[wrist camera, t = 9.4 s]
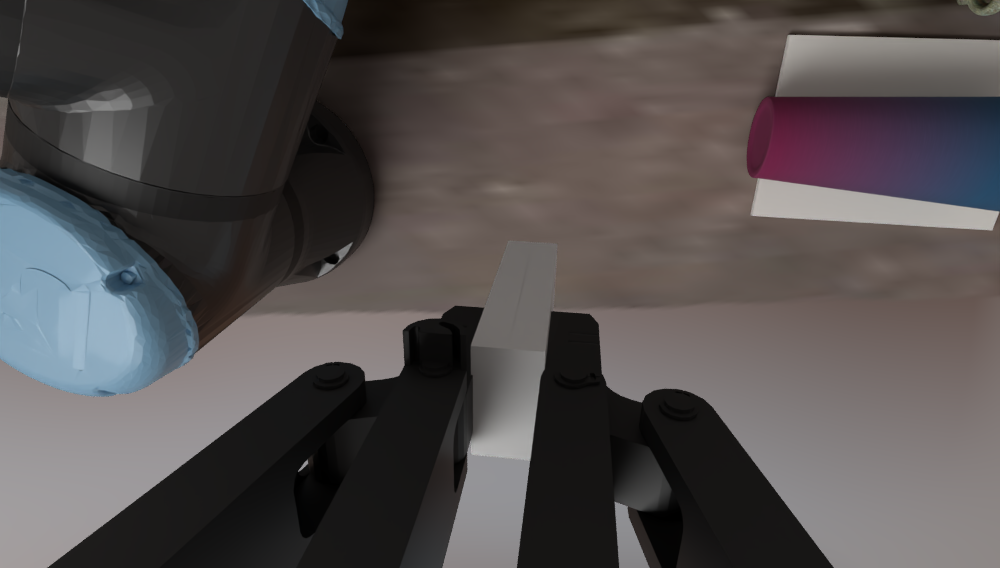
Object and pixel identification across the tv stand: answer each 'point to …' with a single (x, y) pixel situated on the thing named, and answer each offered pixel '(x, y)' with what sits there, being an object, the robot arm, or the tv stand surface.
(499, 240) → the tv stand surface
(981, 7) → the vessel
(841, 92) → the mat
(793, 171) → the cup
